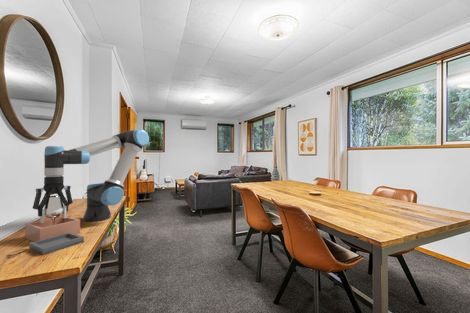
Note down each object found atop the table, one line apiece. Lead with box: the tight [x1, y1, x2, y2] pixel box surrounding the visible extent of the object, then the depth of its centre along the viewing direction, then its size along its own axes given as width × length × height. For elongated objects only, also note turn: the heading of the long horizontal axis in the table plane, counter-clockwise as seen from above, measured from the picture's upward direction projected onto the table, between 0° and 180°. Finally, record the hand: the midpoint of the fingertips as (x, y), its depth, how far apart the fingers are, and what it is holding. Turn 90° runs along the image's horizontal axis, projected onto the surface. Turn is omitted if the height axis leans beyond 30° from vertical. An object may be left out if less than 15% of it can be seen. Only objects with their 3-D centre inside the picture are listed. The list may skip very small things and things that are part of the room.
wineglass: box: [43, 195, 64, 225], centre depth 106 cm, size 8×8×20 cm
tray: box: [29, 232, 85, 256], centre depth 94 cm, size 15×13×2 cm
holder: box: [24, 215, 81, 242], centre depth 106 cm, size 16×16×7 cm
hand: (53, 220), depth 106 cm, fingers open, 8 cm apart
